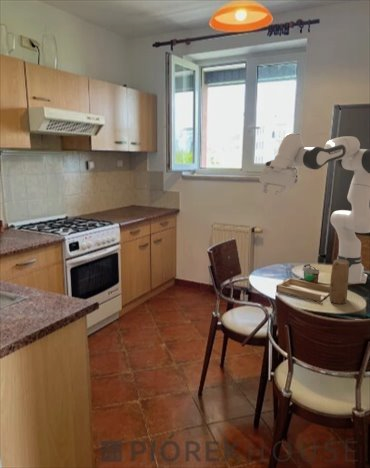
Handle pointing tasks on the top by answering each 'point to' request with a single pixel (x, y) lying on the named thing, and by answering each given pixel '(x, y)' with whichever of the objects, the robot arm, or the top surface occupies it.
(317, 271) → the food container
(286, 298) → the top surface
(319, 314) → the top surface
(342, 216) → the robot arm
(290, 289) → the wooden tray
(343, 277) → the block
